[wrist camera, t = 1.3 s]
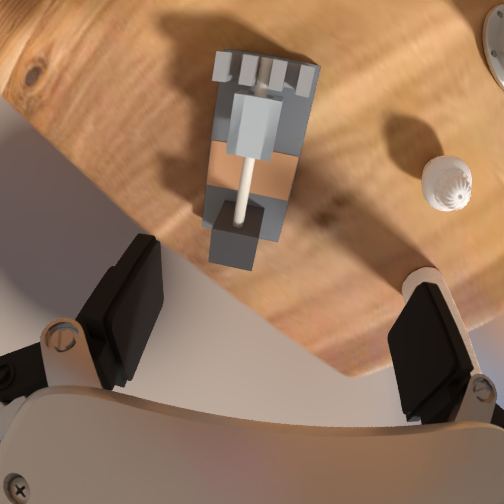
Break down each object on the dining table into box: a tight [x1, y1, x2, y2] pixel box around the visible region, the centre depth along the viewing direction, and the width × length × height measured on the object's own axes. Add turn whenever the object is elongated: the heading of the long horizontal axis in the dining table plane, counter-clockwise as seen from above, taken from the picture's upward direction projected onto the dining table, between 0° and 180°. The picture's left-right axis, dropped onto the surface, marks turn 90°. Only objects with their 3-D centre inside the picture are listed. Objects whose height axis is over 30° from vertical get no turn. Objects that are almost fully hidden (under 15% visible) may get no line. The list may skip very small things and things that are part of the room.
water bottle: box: [402, 267, 482, 377], centre depth 28 cm, size 9×6×25 cm
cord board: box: [202, 49, 321, 271], centre depth 27 cm, size 20×9×8 cm, turn 171°
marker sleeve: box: [226, 90, 284, 162], centre depth 23 cm, size 5×4×3 cm
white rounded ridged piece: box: [421, 155, 472, 211], centre depth 26 cm, size 6×6×7 cm
